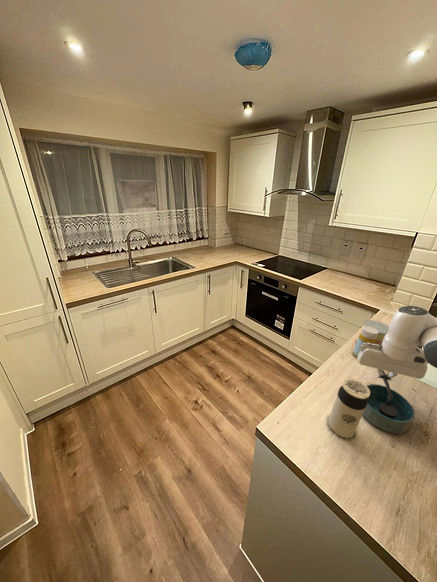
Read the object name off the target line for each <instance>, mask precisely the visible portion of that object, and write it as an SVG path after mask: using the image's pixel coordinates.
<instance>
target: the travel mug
mask: <svg viewBox="0 0 437 582" xmlns="http://www.w3.org/2000/svg"><path fill="white" fill-rule="evenodd" d="M341 384H342V385H341V386H340V387H339V388H338V391H337V394H336V397H335V399H334V402H333V405H332V408H331V411H330V414H329V417H328V421H327V422H328V423H327V424H328V426H329V428H330V429H331V430H332V431H333V432H334V433H335V434H336V435H337V436H340V437H341V438H347V439H349V438H352V437H353V436H354V435H355V432H356V430H357V428H358V426H359V424H360V422H361V419H362V417H363V412H364V410H365V408H366V406H367V403H368V397H369V396H370V390H369V388H368V387H367V386H366V384H365V383H363V381H361V380H359V379H356V378H351V377H348V378H345V379H343V381H342V383H341Z"/></svg>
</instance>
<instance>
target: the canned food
mask: <svg viewBox="0 0 437 582" xmlns="http://www.w3.org/2000/svg"><path fill="white" fill-rule="evenodd" d="M362 325H363V326H362V328H361V331H360V333H361V332H362V329H363V327H364V326H371V327H374V328H376V329H377V330H378V331H379V333H378V336H377V338H376V339H377V341H376V344H378V345H381V344H382V342H383V339H384V337H385V335H386V334H387V333H388V327H389V325H388V324H386V323H384V322H381V321H378V320H375V319H374V320H373V319H368V320H365V321H364V322H363V324H362Z"/></svg>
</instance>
